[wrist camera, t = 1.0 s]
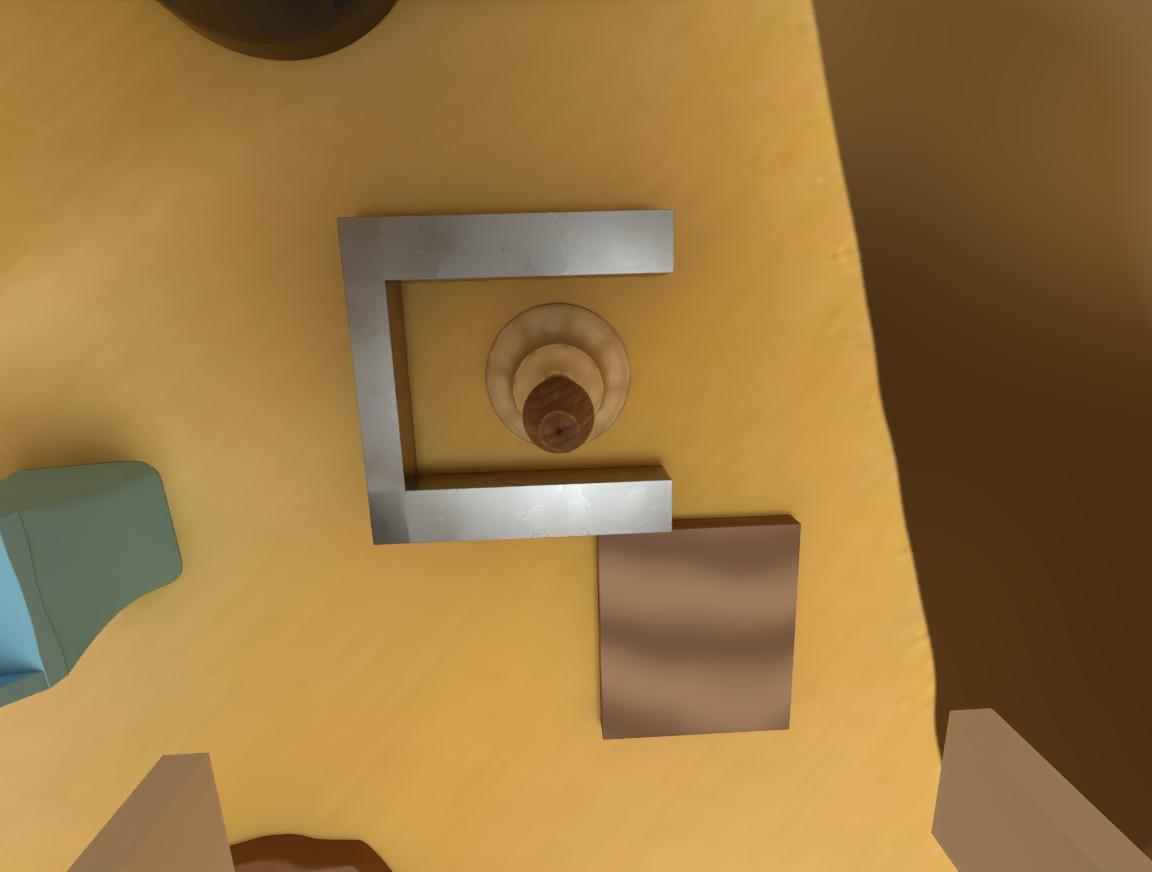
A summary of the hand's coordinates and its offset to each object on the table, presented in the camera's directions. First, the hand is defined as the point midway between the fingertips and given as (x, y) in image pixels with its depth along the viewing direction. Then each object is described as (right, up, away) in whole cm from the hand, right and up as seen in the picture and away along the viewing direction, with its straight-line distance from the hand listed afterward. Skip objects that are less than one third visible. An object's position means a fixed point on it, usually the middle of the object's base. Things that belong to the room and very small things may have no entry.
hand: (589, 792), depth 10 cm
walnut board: (+7, -6, +27) cm, 28 cm away
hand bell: (-1, +10, +23) cm, 25 cm away
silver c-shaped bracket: (-4, +10, +23) cm, 25 cm away
